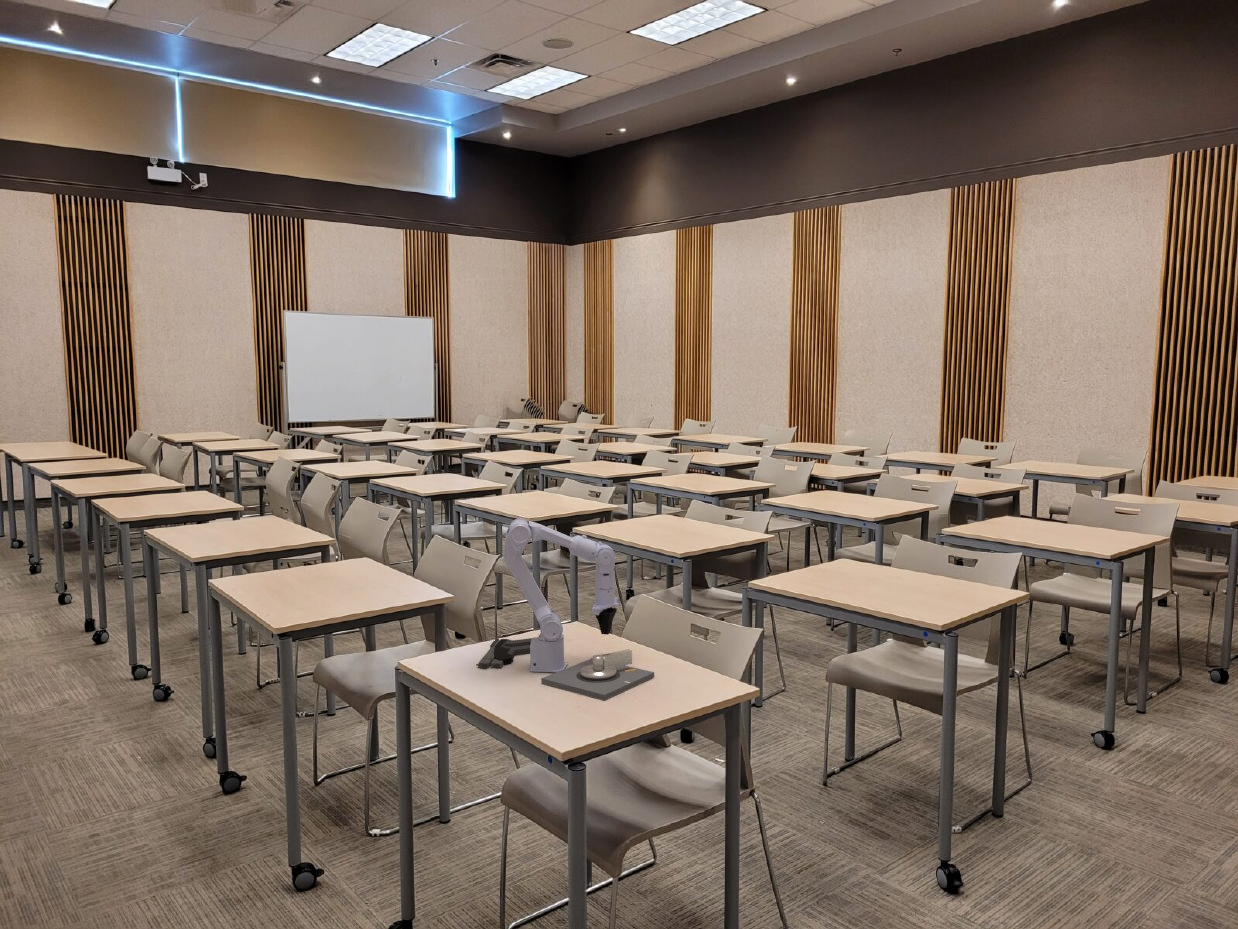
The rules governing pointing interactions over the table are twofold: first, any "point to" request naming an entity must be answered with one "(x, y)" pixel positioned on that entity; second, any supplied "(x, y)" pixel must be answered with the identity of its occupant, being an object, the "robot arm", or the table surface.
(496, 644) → the pistol
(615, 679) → the dial plate
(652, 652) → the table surface
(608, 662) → the dial
